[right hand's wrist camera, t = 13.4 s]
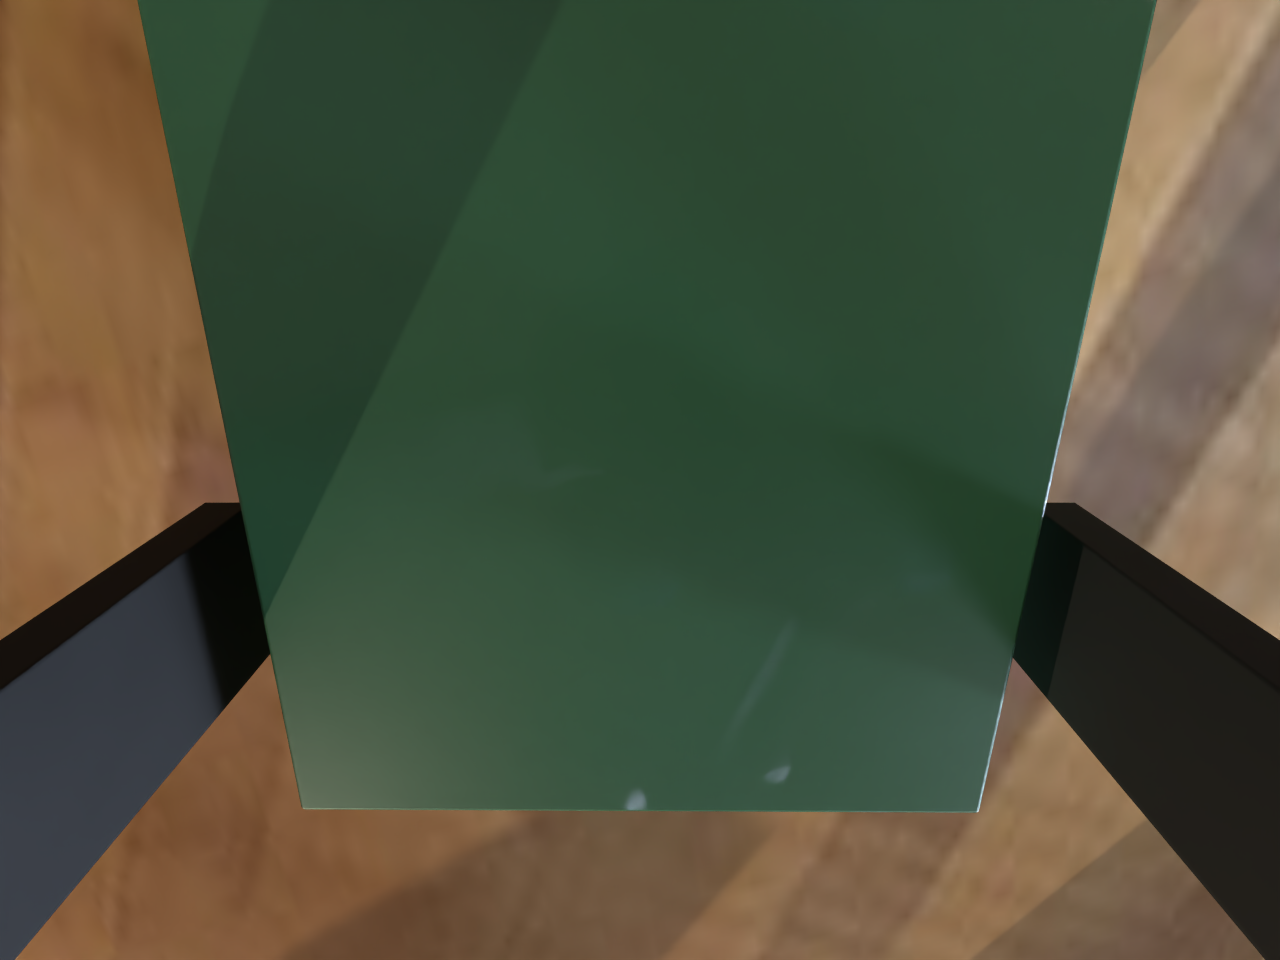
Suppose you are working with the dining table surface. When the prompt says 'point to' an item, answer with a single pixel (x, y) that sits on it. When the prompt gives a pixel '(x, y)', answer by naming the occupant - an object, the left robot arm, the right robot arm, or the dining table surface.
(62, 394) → the dining table surface
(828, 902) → the dining table surface
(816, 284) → the cabinet
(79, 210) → the dining table surface
